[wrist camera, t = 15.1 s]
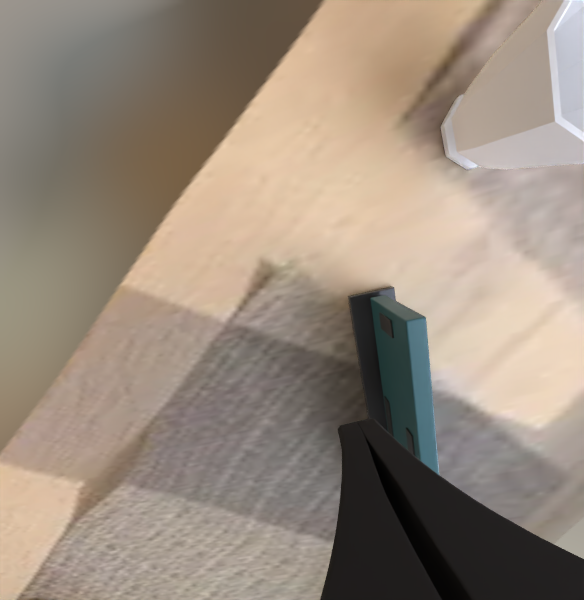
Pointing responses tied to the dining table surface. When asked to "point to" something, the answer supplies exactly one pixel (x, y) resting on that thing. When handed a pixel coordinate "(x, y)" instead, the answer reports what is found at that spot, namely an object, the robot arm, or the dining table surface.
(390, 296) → the door frame
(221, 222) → the dining table surface
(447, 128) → the cup
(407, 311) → the door
